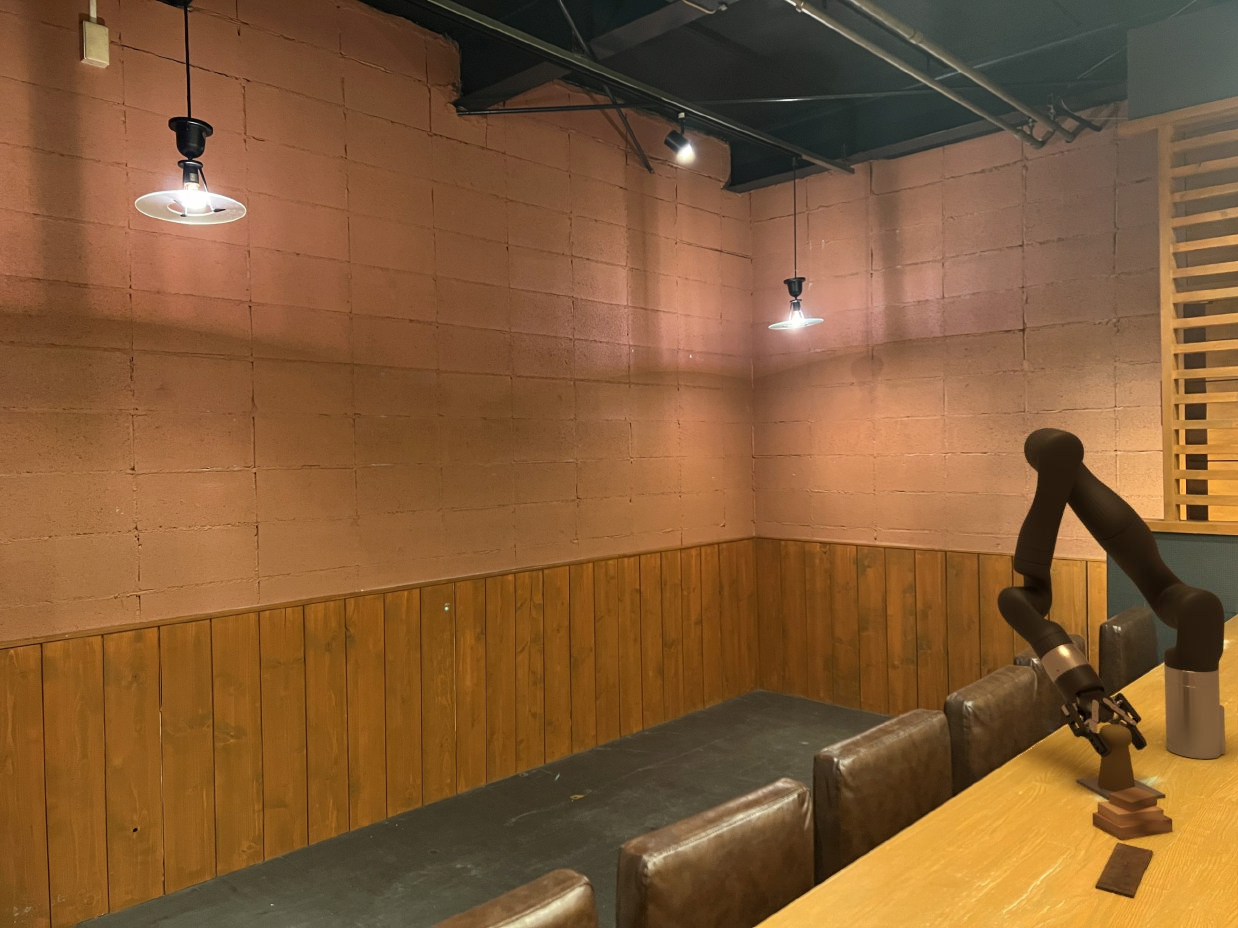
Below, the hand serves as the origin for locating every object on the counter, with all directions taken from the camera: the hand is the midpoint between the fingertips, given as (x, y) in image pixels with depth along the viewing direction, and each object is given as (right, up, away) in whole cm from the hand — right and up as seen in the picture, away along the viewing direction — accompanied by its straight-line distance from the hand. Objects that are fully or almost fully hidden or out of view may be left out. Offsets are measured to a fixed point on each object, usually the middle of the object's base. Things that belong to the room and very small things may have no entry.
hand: (1125, 751), depth 159 cm
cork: (-1, -7, +2) cm, 7 cm away
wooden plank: (-16, -9, -27) cm, 33 cm away
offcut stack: (-7, -8, -14) cm, 17 cm away
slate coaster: (0, -7, +1) cm, 8 cm away
